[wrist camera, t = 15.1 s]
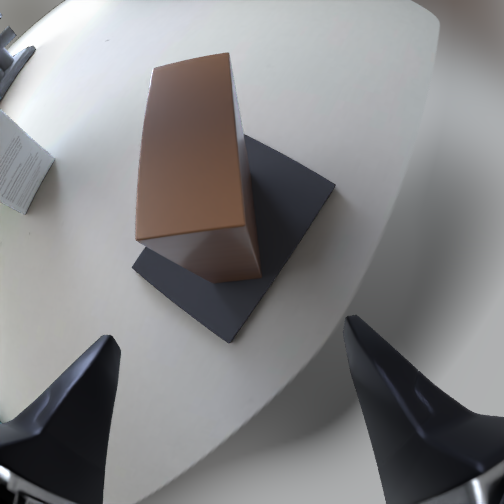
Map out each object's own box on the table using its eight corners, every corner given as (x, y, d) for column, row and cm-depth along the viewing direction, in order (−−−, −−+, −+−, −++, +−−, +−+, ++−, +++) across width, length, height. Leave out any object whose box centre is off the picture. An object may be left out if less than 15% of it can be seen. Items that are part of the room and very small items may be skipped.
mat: (334, 187, 18) (335, 184, 18) (230, 343, 16) (228, 343, 16) (237, 133, 19) (236, 130, 19) (134, 268, 18) (131, 267, 17)
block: (262, 278, 17) (246, 225, 7) (212, 283, 17) (134, 240, 7) (250, 172, 18) (229, 51, 9) (205, 178, 18) (152, 67, 9)
